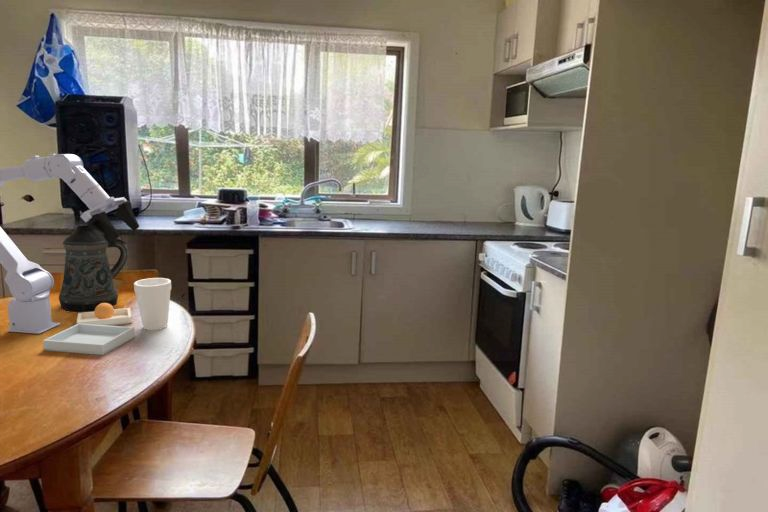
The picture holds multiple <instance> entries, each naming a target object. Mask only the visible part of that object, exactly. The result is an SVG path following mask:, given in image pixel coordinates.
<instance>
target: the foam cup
mask: <svg viewBox="0 0 768 512" xmlns="http://www.w3.org/2000/svg"><path fill="white" fill-rule="evenodd" d="M133 289H134V290H133V291H134V293H135V296H136V297H135V298H136V301H137V306H138V310H139V315H140V320H141V324H142V326H143V329H144V330H146V329H147V331H157V330H156V329H160V328H163V329H165V328H166V327H165V326H167V327H168V325H167V324H169V311H170V300H171V290H172V280H171V279H170V278H167V277H166V278H165V277H152V278H151V277H149V278H144V279H139V280H136V281H135V282H133ZM164 327H165V328H164ZM160 330H161V329H160Z"/></svg>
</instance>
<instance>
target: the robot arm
mask: <svg viewBox="0 0 768 512" xmlns="http://www.w3.org/2000/svg"><path fill="white" fill-rule="evenodd" d="M25 178H26V179H28V180H30V181H31V182H40V181H47V180H53V179H59V178H60V179H62V182H63V181H64V183H66V185H67V186H68V188H70V189H71V190H72V191H73V192H74V193H75V194H76V195H77V196H78V198H79V199H80V200H81V201H82V203H84V205H86V207H87V208H88V209H87V210H86V211H83V213H82V214H81V215H80V218H81V219H82V221H84V223H87V222H88V223H87V224H86V226H87V225H88V226H89V227H90V228H93V229H96V230H98V231H100V232H102V233H104V234H105V235H107V236H109V237H110V238H112V239H113V240H116V239H117V238H120V237H121V234H120V232H119V231H118V230H117V229H116V227H115V226H114V225H113V224H112V222H111V220H110V219H109V217H108V214H107V213H109V212H112V211H114V210H115V213H114V214H113V216H115V217H116V218H117V219H119V220H121V221H122V222H123V223H125V224H126V226H127V227H128V228H129V229H131V230H132V231H133V232H135V231H137V230H138V229H139V228H140V224H139V222H138V221H137V219H136V216H135V214H134V211H133V208H132V207H133V206H132V203H131V202H130V200H127V199H126V198H125V196H123V197H116V198H115V197H114V196H109V194H108V193H107V192H106V191H105V190H104V188H103V187H102V186H101V185H100V184H99V183H98V182H97V181H96V180H95V178H94V177H93V176H92V175H91V174H90V173H89V172H88V171H87V170H86V169H85V168H84V162H83V160H82V159H81V157H80V156H78V155H76V154H73V153H58V154H57V153H50V154H49V155H48V156H42V157H40V155H32V156H31V155H30V158H29V159H25V161H24V162H23V164H22V165H16V166H14V165H13V166H7V167H0V188H1V187H2V188H4V187H5V186H4V185H5V184H4V182H9V181H13V180H18V179H25ZM0 265H1V266H2V267H3V268H4V269H5V271H6V275H5V277H4V282H5V283H6V284H7V286H8V289H9V292H10V295H11V296H12V297H13V298H11V300H10V301H9V303H8V304H7V305H8V306H7V313H8V321H9V323H8V324H9V328H8V329H7V332H12V333H25V334H36V335H37V334H39V335H40V334H42V333H45V332H46V331H49V330H51V329H53V328H56V327H57V326H60V325H61V323H60V322H53V320H52V319H53V318H52V310H51V302H50V294H51V289H53V287H54V284H55V280H54V277H53V275H52V273H50V272H49V271H47V270H46V269H44V268H43V267H42V266H40V264H38V263H36V262H33V261H31V260H28V259H27V257H26V256H25V255H24V254H23V252H22V251H21V250H20V249H19V247H18V246H17V245H16V244H15V243H14V241H13V240H12V239H11V237H10V236H9V235H8V234H7V233H6V231H5V230H4V229H3V228H2V227H1V226H0Z"/></svg>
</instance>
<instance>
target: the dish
mask: <svg viewBox="0 0 768 512" xmlns="http://www.w3.org/2000/svg"><path fill="white" fill-rule="evenodd" d="M131 311H132V310H131V307H123V308H117V309H116V308H115V309H114V314H113V316H112V317H111V318H107V319H98V318H97V317H96V316H95V313H94V311H92V312H77V319H76V324H78V323H81V324H94V325H108V326H122V325H128V324H129V323H130V324H133V319H132V312H131Z"/></svg>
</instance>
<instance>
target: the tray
mask: <svg viewBox="0 0 768 512" xmlns="http://www.w3.org/2000/svg"><path fill="white" fill-rule="evenodd" d="M134 338H135V327H134V326H122V325H113V326H108V325H94V324H81V323H78V324H77V323H76V324H74V325H72V326H71V327H68V328H66V329H64V330H62V331H60V332H58V333H56V334H53V335H52V336H49V337H47V338H45V339H43V340H42V345H43V351H47V352H60V353H70V354H71V353H73V354H84V355H85V354H87V355H98V356H105V355H107V354H108V353H110V352H112V351H114V350H115V349H117V348H118V347H120V346H122V345H123V344H125V343H126V342H128V341H130V340H132V339H134Z"/></svg>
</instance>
